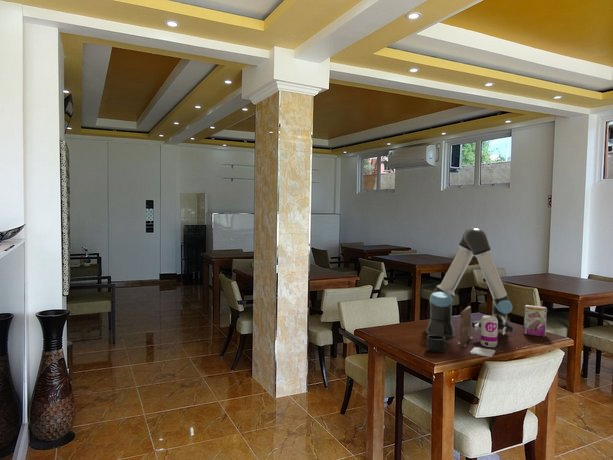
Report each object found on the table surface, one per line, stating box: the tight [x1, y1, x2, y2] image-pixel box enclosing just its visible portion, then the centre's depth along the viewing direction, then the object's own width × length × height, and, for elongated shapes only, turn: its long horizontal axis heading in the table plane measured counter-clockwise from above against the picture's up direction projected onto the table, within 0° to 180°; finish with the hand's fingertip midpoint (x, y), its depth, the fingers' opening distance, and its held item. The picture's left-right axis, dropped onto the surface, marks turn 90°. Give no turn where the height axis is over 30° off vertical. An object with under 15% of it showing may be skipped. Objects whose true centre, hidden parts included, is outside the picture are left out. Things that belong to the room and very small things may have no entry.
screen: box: [456, 305, 474, 348], centre depth 239 cm, size 4×18×18 cm, turn 147°
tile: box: [469, 346, 496, 358], centre depth 223 cm, size 10×10×1 cm
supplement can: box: [480, 314, 499, 348], centre depth 235 cm, size 8×8×15 cm
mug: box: [426, 334, 449, 353], centre depth 223 cm, size 12×9×7 cm
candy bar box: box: [523, 304, 548, 338], centre depth 256 cm, size 11×5×16 cm, turn 58°
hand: (489, 330), depth 233 cm, fingers open, 13 cm apart
